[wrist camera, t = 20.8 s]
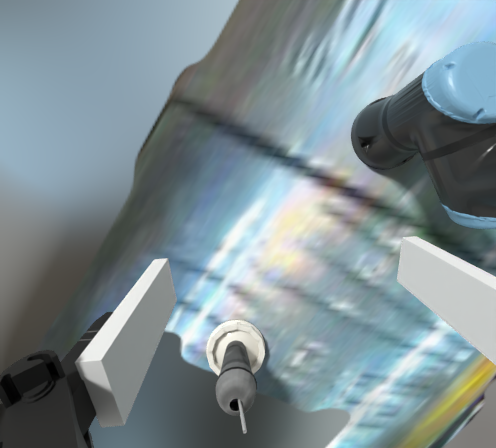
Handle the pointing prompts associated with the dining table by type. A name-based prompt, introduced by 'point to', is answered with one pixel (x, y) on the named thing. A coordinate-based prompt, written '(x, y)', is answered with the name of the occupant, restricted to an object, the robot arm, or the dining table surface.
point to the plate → (233, 332)
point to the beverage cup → (236, 382)
